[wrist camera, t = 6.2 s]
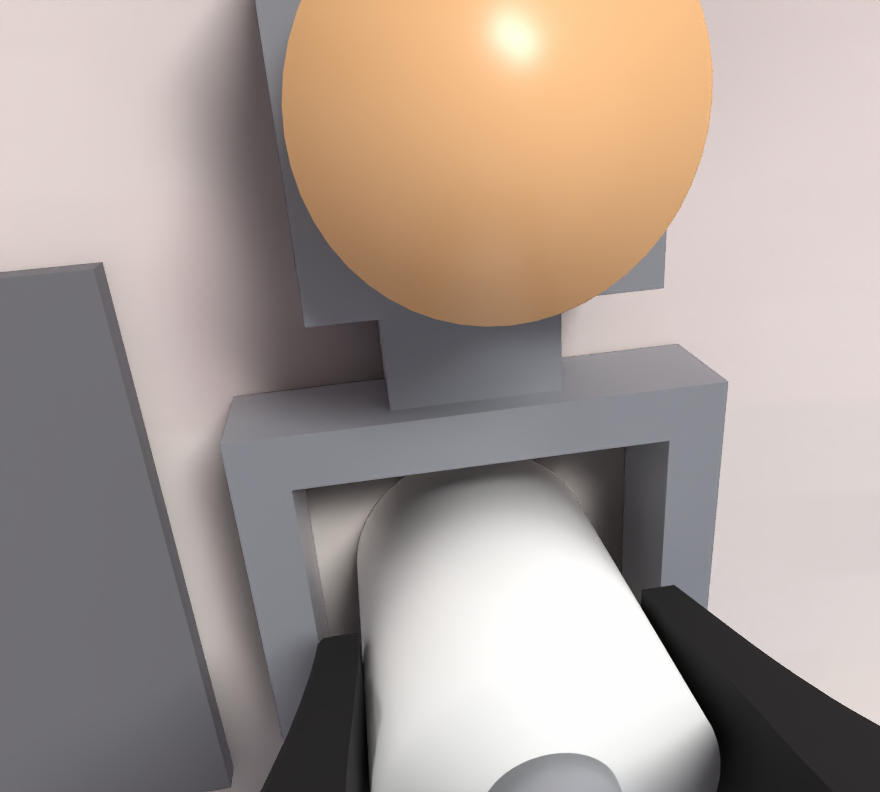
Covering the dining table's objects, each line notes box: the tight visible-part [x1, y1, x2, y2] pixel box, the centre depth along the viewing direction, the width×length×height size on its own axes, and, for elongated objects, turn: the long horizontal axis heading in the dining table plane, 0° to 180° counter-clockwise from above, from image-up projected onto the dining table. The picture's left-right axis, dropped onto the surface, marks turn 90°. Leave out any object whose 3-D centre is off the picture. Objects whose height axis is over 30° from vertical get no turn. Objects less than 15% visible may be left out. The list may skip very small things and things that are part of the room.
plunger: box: [282, 0, 713, 327], centre depth 10 cm, size 5×5×4 cm
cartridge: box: [357, 459, 721, 792], centre depth 13 cm, size 5×5×7 cm
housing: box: [220, 0, 728, 741], centre depth 13 cm, size 16×9×3 cm, turn 4°
